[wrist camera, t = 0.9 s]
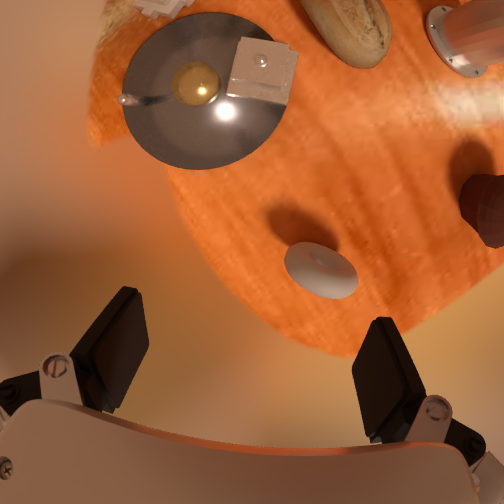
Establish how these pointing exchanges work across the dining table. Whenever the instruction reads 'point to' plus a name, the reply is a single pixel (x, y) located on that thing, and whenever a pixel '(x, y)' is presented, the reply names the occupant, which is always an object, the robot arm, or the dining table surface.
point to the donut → (321, 270)
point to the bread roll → (352, 29)
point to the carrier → (207, 90)
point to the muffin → (485, 207)
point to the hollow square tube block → (161, 7)
